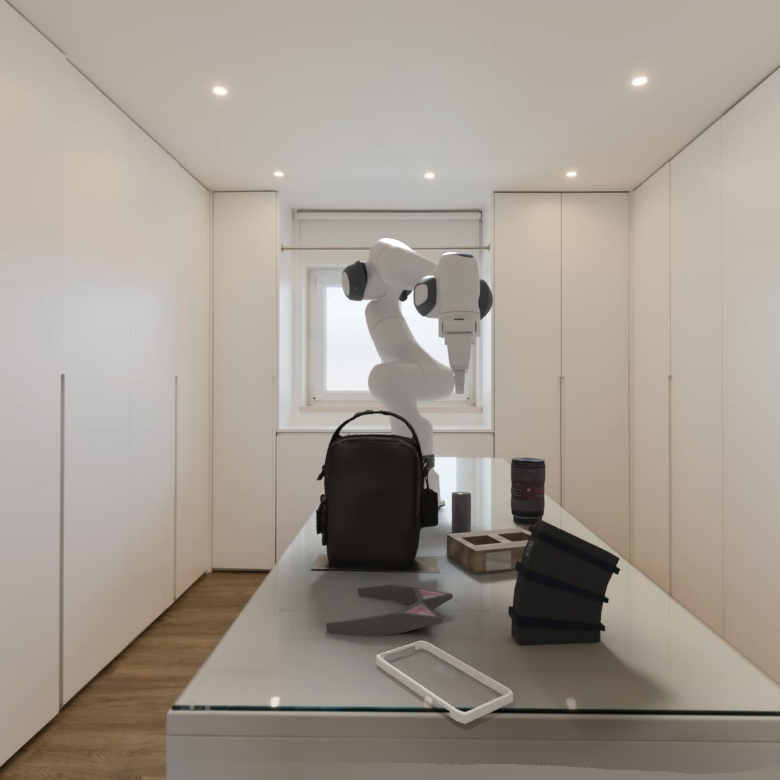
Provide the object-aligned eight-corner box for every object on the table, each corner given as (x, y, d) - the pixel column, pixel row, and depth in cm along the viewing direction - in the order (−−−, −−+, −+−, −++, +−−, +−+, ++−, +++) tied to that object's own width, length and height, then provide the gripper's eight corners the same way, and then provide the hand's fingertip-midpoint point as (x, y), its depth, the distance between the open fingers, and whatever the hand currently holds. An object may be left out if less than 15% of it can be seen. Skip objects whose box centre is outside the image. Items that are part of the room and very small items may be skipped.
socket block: (446, 555, 109) (446, 534, 109) (519, 547, 114) (519, 527, 114) (476, 575, 97) (477, 551, 97) (556, 565, 102) (556, 543, 102)
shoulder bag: (438, 557, 107) (438, 409, 107) (439, 573, 98) (440, 411, 98) (319, 555, 109) (319, 408, 109) (310, 570, 100) (310, 410, 99)
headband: (357, 584, 88) (454, 582, 84) (359, 604, 87) (456, 603, 84) (324, 618, 74) (437, 618, 70) (327, 642, 74) (440, 643, 70)
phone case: (515, 704, 58) (423, 649, 70) (515, 691, 58) (423, 638, 70) (462, 730, 54) (373, 666, 66) (462, 715, 54) (373, 655, 66)
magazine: (485, 622, 73) (534, 516, 74) (574, 662, 74) (622, 557, 75) (492, 634, 70) (544, 523, 70) (586, 676, 71) (636, 566, 71)
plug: (448, 539, 120) (448, 492, 120) (465, 538, 121) (465, 491, 121) (456, 544, 116) (456, 495, 116) (474, 542, 117) (474, 494, 117)
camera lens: (546, 526, 132) (546, 461, 132) (510, 524, 133) (510, 460, 133) (544, 518, 140) (544, 457, 140) (510, 516, 141) (510, 456, 141)
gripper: (445, 334, 131) (446, 394, 131) (442, 322, 111) (443, 393, 111) (473, 333, 130) (474, 394, 130) (475, 321, 110) (476, 393, 110)
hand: (459, 393), depth 120 cm, fingers open, 8 cm apart
